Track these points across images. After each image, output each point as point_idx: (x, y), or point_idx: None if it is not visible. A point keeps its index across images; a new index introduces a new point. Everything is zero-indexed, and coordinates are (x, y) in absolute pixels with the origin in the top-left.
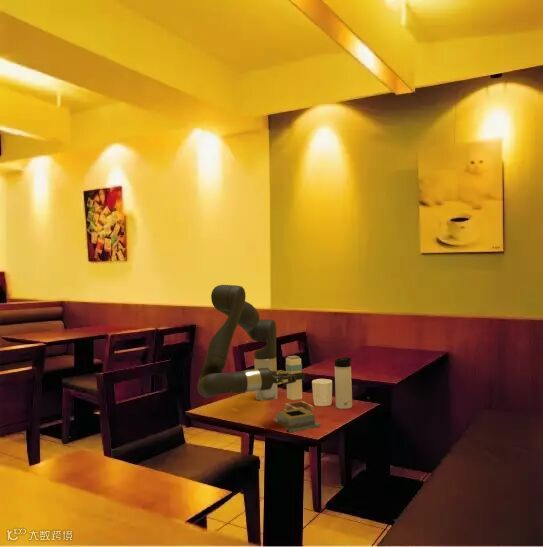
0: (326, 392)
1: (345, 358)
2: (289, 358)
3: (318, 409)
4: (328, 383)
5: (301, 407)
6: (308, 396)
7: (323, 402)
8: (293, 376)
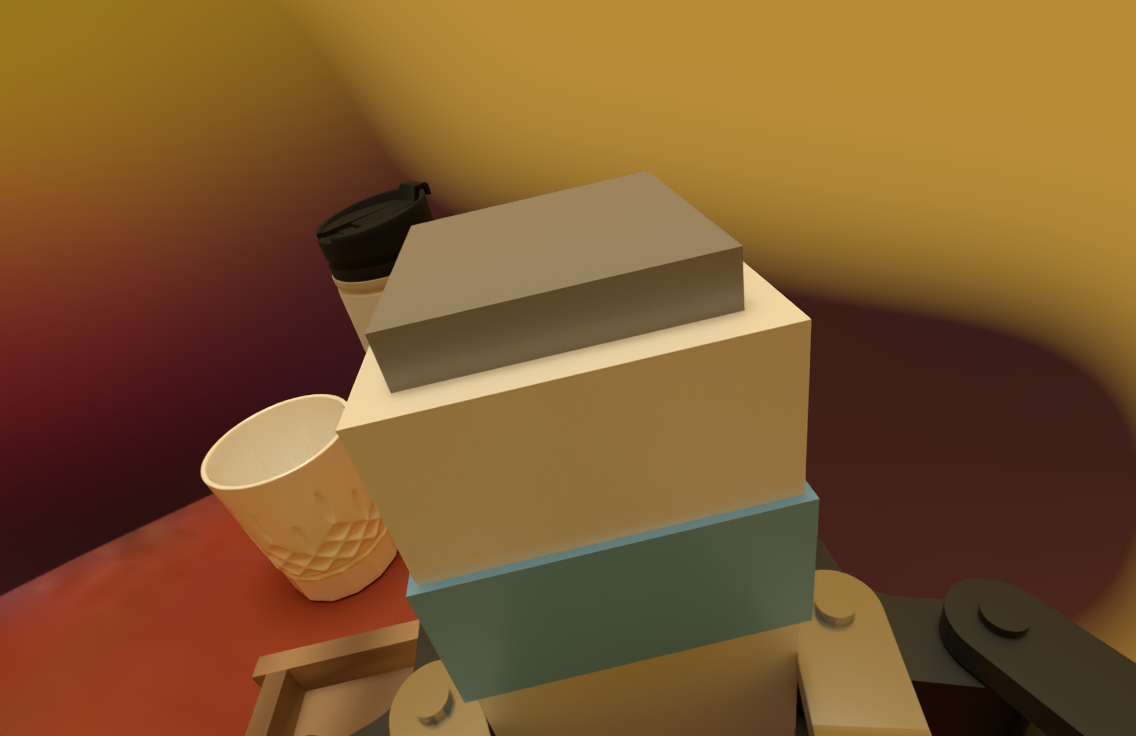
0: None
1: (354, 211)
2: (574, 335)
3: (387, 593)
4: None
5: (309, 699)
6: (115, 582)
7: (380, 536)
8: (1108, 667)
